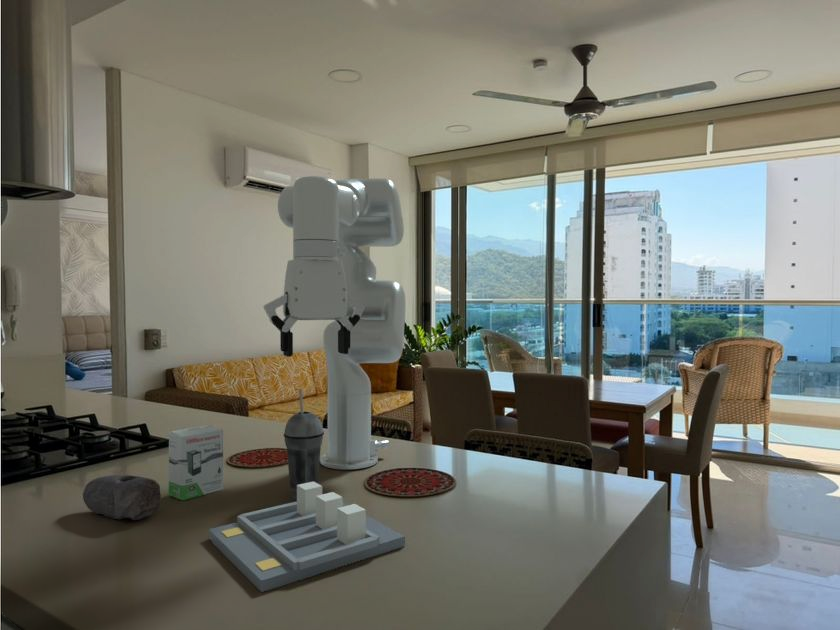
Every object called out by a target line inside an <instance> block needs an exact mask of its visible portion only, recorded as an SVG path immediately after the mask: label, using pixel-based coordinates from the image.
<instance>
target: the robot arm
mask: <svg viewBox="0 0 840 630" xmlns="http://www.w3.org/2000/svg"><path fill="white" fill-rule="evenodd" d="M277 213H278V215H279V218H280V221H282V223H283V224H284V225H285V226H286V227H287V228H291V229H292V244H293V245H292V248H293V251H292V255H293V256H292V257H293V259H292V260H291V259H289V260H287V264H286V270H285V278H284V286H283V295H281V296H278V297H277V298H275V299H273V300H271V301H269V302H267V303H265V304H264V305H263V309H264V312H265V313H266V315H267V317H268V319H269V321H270V323H271V324H272V325H273V326H274V327H275V328H276V329H277V330H278V331H279V332H280V335H279V336H280V339H279V340H280V351H281V352H283V356H284V357H290V358H291V357H293V355H294V347H293V346H294V340H293V339H294V334H293V332H291V328H293V326H294V325H295V324H296V323H297V322H298V321H332V322H330V323H328V325H327V326H326V327H325V328H324V331H323V335H322V338H323V348H324V349H323V350H324V355H325V361H326V371H327V372H326V373H327V377H326V378H327V452H326V453H324V454H322V455H321V456H320V464H321V465H322V467H325V468H328V469H332V470H343V471H344V470H345V471H346V470H347V471H349V470H350V471H351V470H359V469H365V468H369V467H372V466H374V465H376V464H377V463H378V461H379V459H378V458H379V457H378V454H377V452H378V451H379V450H385V449H389V447H390V442H389V440H388V439H384V440H383V439H382V440H379V441H378V440H377V439H372V422H371V421H372V384H371V380H370V377H369V375H368V374H367V372H366V371H365V370H364V369H363V368H362V366H361V365H360V364H391V363H392V364H393V363H396V362H398V361H399V360H400V359H401V357H402V354H403V350H404V349H403V348H404V341H405V338H404V337H405V323H406V322H405V321H406V295H405V291H404V287H403V286H402V285H401V283H399V282H397V281H394V280H376V279H377V277H376V276H377V267H376V265H375V263H374V262H373V260H372V259H371V257H369V256H368V255H367V254H366V252H364V251H363V250H361V248H359V247H362V248H363V247H369V248H370V247H381V248H383V247H395V246H397V245H399V244H401V242H402V241H403V238H404V234H405V233H404V232H405V230H404V229H405V227H404V220H403V219H404V218H403V212H402V207H401V201H400V196H399V192H398V189H397V187H396V185H395V184H394V183H393V181H392V180H390V179H389V178H345V179H339V180H334V179H331V178H330V177H324V176H318V175H317V176H313V175H311V176H303V177H300V178H297V179H296V180H295V181H294V183H293V184H291V185H288V186H285V187H284V188H283V189H282V190H281V192H280V193H279V196H278V201H277ZM279 307H282V313H283V316H284V318H283V319H281V318H280V316H278V314H277V311H276V310H277V309H278V308H279Z"/></svg>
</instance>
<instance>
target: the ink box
mask: <svg viewBox="0 0 840 630" xmlns="http://www.w3.org/2000/svg"><path fill="white" fill-rule="evenodd" d="M168 433H169V434H168V496H170V497H172V498H175V499H177V500H180V501H186V500H190V499H194V498H197V497H201V496H205V495H208V494H211V493H212V494H213V493H216V492H219V491H222V490H224V429H223V428H221V427H218V426H214V425H202V426H201V425H200V426H195V427H188V428H184V429H176V430H172V431H171V432H168Z"/></svg>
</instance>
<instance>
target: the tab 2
mask: <svg viewBox="0 0 840 630" xmlns="http://www.w3.org/2000/svg"><path fill="white" fill-rule="evenodd" d="M343 500H344V499H343V496H341V495H340V494H337V493H335V492H334V491H332V492H328V493H327V492H326V493H322V495H318V496H316V525H317V526H318V527H320V528H321V529H326V528H330V527H333V526H337V508H340V507H343V502H344V501H343Z"/></svg>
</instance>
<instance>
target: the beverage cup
mask: <svg viewBox="0 0 840 630" xmlns="http://www.w3.org/2000/svg"><path fill="white" fill-rule="evenodd" d="M298 393H299V394H298V395H299V408H300V411H299V412H296V413H295V414H293V415H292V416H291V417H289V419H288V420H287V422H286V424H285V428H284V433H283V437H284V444H285V447H286V453H287V454H286V455H287V467H288V477H289V489H290V495H291V499H292V500H295V501H297V485H299V484H304V483H309V482H313V481H314V482H315V483H317V484H319V475H320V473H319V472H320V463H321V450H322V448H321V447H322V445H323V438H324V435H325V433H324V432H325V431H324V428H323V427H324V426H323V423H322V422H321V420H320V418H319V417H318V416H317V415H316V414H314V413H313V412H311V411H304V403H303V389H302V388H299V389H298Z"/></svg>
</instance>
